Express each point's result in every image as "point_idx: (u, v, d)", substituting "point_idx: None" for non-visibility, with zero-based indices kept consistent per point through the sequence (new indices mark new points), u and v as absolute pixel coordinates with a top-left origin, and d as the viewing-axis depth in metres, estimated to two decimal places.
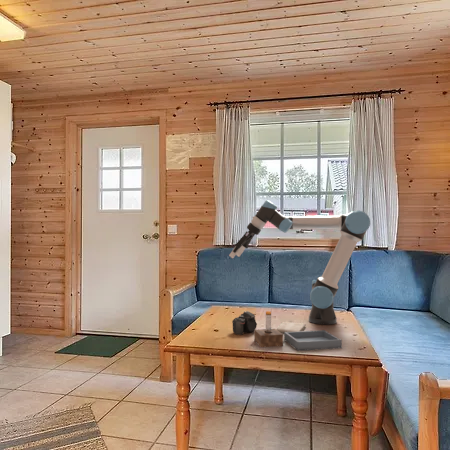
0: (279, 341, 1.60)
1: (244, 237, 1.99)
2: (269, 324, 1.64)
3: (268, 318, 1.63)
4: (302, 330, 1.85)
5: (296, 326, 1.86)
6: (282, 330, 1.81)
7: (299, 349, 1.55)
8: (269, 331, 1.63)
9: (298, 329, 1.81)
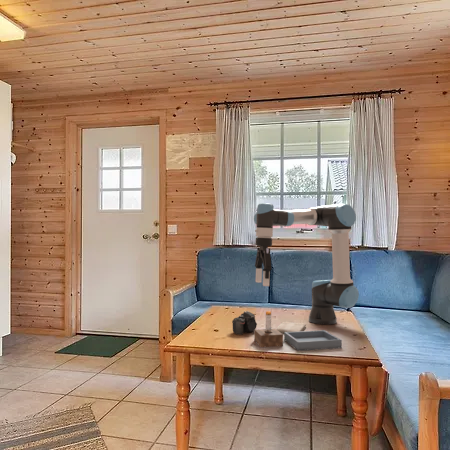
0: (279, 341, 1.60)
1: (267, 255, 1.61)
2: (269, 324, 1.64)
3: (268, 318, 1.63)
4: (302, 330, 1.85)
5: (296, 326, 1.86)
6: (282, 330, 1.81)
7: (299, 349, 1.55)
8: (269, 331, 1.63)
9: (298, 329, 1.81)
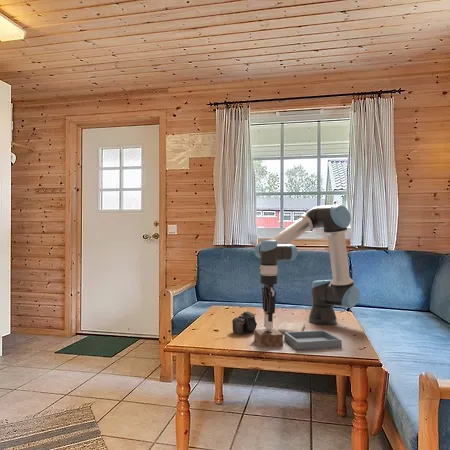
0: (279, 341, 1.60)
1: (272, 299, 1.59)
2: None
3: None
4: (302, 330, 1.86)
5: (296, 326, 1.86)
6: (284, 330, 1.81)
7: (299, 349, 1.55)
8: (269, 331, 1.63)
9: (299, 329, 1.81)
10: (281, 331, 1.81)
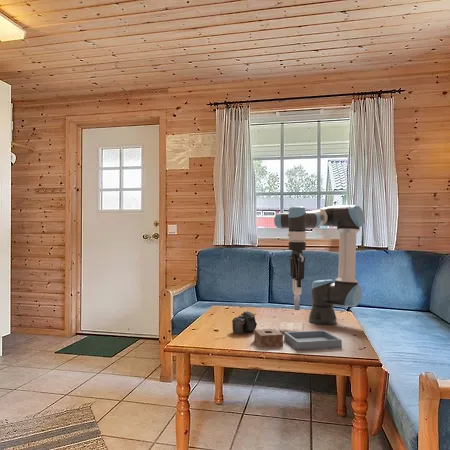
0: (279, 341, 1.60)
1: (301, 265, 1.60)
2: None
3: None
4: None
5: (297, 326, 1.87)
6: (286, 331, 1.80)
7: (299, 349, 1.55)
8: (298, 297, 1.64)
9: (301, 329, 1.82)
10: (283, 331, 1.80)
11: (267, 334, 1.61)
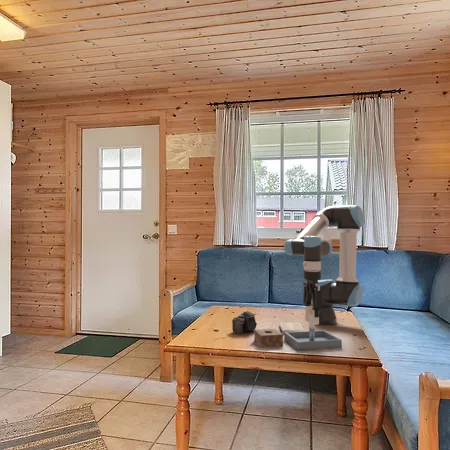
0: (279, 341, 1.60)
1: (318, 294, 1.59)
2: None
3: None
4: None
5: (297, 326, 1.87)
6: (288, 331, 1.80)
7: (299, 349, 1.55)
8: (313, 329, 1.64)
9: (302, 328, 1.82)
10: None
11: (267, 334, 1.61)
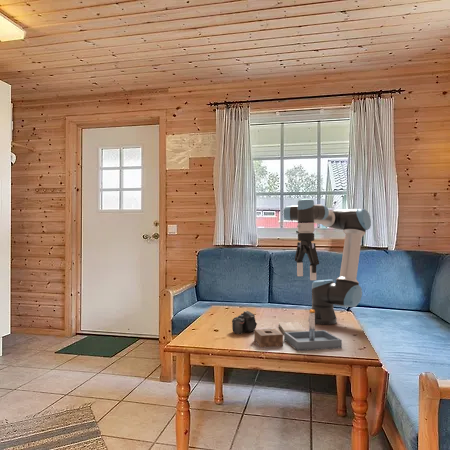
0: (279, 341, 1.60)
1: (313, 250, 1.65)
2: (313, 322, 1.64)
3: (312, 316, 1.63)
4: None
5: (297, 326, 1.87)
6: (290, 331, 1.79)
7: (299, 349, 1.55)
8: (313, 329, 1.63)
9: (303, 328, 1.83)
10: None
11: (267, 334, 1.61)
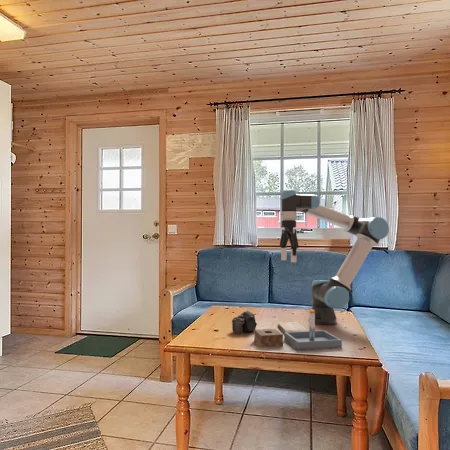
0: (279, 341, 1.60)
1: (294, 235, 1.83)
2: (313, 322, 1.64)
3: (312, 316, 1.63)
4: None
5: (297, 325, 1.88)
6: (291, 331, 1.79)
7: (299, 349, 1.55)
8: (313, 329, 1.63)
9: (304, 328, 1.83)
10: None
11: (267, 334, 1.61)
